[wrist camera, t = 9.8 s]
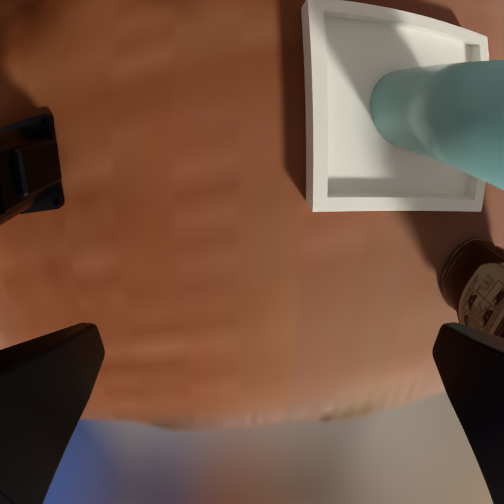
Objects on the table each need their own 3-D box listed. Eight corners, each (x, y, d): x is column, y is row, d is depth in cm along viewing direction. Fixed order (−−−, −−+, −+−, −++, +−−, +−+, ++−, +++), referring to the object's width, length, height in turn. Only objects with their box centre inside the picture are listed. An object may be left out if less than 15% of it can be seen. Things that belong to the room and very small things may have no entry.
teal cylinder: (360, 131, 17) (510, 186, 6) (382, 57, 15) (542, 27, 4) (426, 160, 17) (577, 237, 6) (447, 91, 15) (608, 114, 4)
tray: (305, 200, 20) (312, 211, 18) (300, 8, 15) (307, -3, 13) (464, 202, 20) (481, 211, 18) (468, 40, 15) (486, 36, 13)
